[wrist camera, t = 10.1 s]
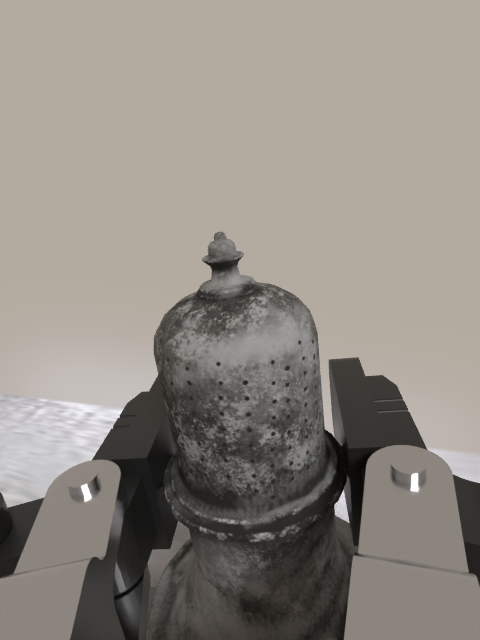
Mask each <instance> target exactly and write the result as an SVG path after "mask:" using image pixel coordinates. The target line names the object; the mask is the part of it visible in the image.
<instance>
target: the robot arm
mask: <svg viewBox="0 0 480 640" xmlns="http://www.w3.org/2000/svg"><path fill="white" fill-rule="evenodd" d="M329 377H330V391H331V406H332V418H333V427H334V436H335V439H336V440H337V441H338V442H339V443H340V445H341V446H342V449H343V453H344V458H345V463H346V469H347V483H346V485H345V487H344V493H345V499H346V504H347V510H348V516H349V521H350V527H351V533H352V538H353V544H354V546H359V548H358V553H356V552H355V553H354V556H353V561H352V568H351V578H350V587H349V597H348V606H347V616H346V625H345V634H344V640H480V483H476V482H472V481H468V480H465V479H462V478H460V477H458V476H455V475H453V474H452V471H451V469H450V467H449V466H448V464H447V463H446V462H445V461H444V460H443V459H442V458H440V457H439V456H438V455H436V454H434V453H432V452H430V451H428V450H427V448H426V446H425V444H424V442H423V440H422V438H421V435H420V434H419V431H418V429H417V427H416V425H415V423H414V421H413V419H412V417H411V415H410V413H409V412H408V408H407V406H406V404H405V402H404V401H403V398H402V396H401V394H400V392H399V390H398V387H397V386H396V385H395V384H394V383H393V382H391V381H389V380H388V379H387V378H386V377H384V376H383V375H379V376H365V375H364V371H363V369H362V366H361V363H360V360H359V358H346V359H345V358H344V359H331V360H329ZM175 452H176V450H175V446H174V441H173V437H172V432H171V428H170V423H169V419H168V414H167V410H166V405H165V401H164V396H163V392H162V387H161V383H160V378H159V375H158V377H157V378H156V380H155V382H154V384H153V385H152V387H151V389H150V391H149V392H141V393H140V394H138V395H137V396H136V397H135V398H134V399H132V400H131V401H130V402H128V403H127V405H126V406H125V408H124V410H123V411H122V413H121V414H120V418H118V419H117V421H116V422H115V424H114V426H113V429H111V430H110V432H109V434H108V435H107V437H106V438H105V440H104V442H103V443H102V445H101V446H100V448H99V450H98V451H97V453H96V454H95V456H94V458H93V459H92V461H88V462H84V463H81V464H78V465H76V466H74V467H72V468H70V469H68V470H67V471H65V472H64V473H62V474H61V475H60V476H59V477H57V478H56V479H55V480H54V481H53V483H52V484H51V485H50V487H49V489H48V490H47V493H46V495H45V498H42V499H38V500H34V501H31V502H27V503H24V504H20V505H16V506H13V507H9V508H7V505H6V503H5V501H4V498H3V496H2V494H1V493H0V640H146V633H147V619H148V605H149V590H150V572H149V569H148V565H147V563H148V560H149V557H150V554H151V551H152V549H170V547H171V544H172V540H173V537H174V533H175V530H176V526H177V523H178V520H177V519H176V518H175V517H174V515H173V513H172V512H171V510H170V508H169V507H168V505H167V504H166V501H165V496H164V489H163V483H162V482H163V479H164V476H165V472H166V469H167V466H168V463H169V462H170V460H171V458H172V456H173V455H174V453H175Z"/></svg>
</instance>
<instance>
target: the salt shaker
mask: <svg viewBox="0 0 480 640" xmlns="http://www.w3.org/2000/svg"><path fill="white" fill-rule="evenodd" d="M208 254H209V255H207V256H205V257H204V258H203V259H202V261H203V262H205V263H206V264H208V265H209V266H211V269H212V278H211V280H209V281H206V282H204V283H203V284H202V285H201V286H200V288H199V290H198V291H197V292H195V293H192V294H190V295H188V296H186V297H184V298H183V299H182V300H180V301H179V302H178V303H177V304H176V305H175V306H174V307H173V308H171V309H170V310H169V311H168V312H167V313H166V314H165V315H164V317H163V319H162V321H161V323H160V325H159V327H158V329H157V331H156V333H155V336H154V356H155V361H156V365H157V369H158V374H159V378H160V383H161V387H162V392H163V396H164V401H165V405H166V410H167V414H168V419H169V423H170V428H171V432H172V437H173V441H174V446H175V450H176V452H175V453H174V455H173V456H172V458H171V460H170V462H169V463H168V466H167V469H166V472H165V476H164V479H163V482H162V483H163V489H164V496H165V501H166V504H167V505H168V507H169V508H170V510H171V512H172V513H173V515H174V517H175V518H176V519H177V520H178V521H180V522H181V523H182V524H184V525H185V526H186V527H188V528H189V531H190V535H191V539H189V540H188V541H187V542H186V543H185V544H184V545H183V546H182V547H181V548H180V550H179V551H178V552H177V554H176V555H175V556H174V558H173V559H172V560H171V562H170V563H169V564H168V565H167V567H166V568H165V570H164V572H163V574H162V577H161V579H160V581H159V583H158V585H157V587H156V590H155V592H154V594H153V596H152V601H151V606H150V611H149V616H148V621H147V633H146V639H147V640H344V634H345V625H346V616H347V606H348V597H349V587H350V578H351V568H352V561H353V556H354V553H355V552H356V553H358V548H359V546H354V544H353V538H352V533H351V527H350V523H348V522H346V521H344V520H342V519H341V518H339V517H337V516H335V510H334V504H335V503H336V502H337V501H338V500H339V498H340V496H341V494H342V491H343V489H344V487H345V485H346V483H347V469H346V463H345V458H344V453H343V449H342V446H341V445H340V443H339V442H338V441H337V440H336V439H335V438H334V436H333V435H332V434H331V433H329V432H328V431H326V430H325V428H324V415H323V402H322V389H321V375H320V362H319V348H318V336H317V330H316V327H315V323H314V320H313V317H312V315H311V313H310V310H309V309H308V308H307V307H306V306H305V305H304V304H303V303H302V301H301V300H300V299H299V298H298V297H296V296H295V295H293V294H292V293H290V292H288V291H286V290H283V289H281V288H279V287H277V286H275V285H271V284H266V283H257V282H256V281H255V280H254V279H253V278H252V277H249V276H244V275H240V273H239V270H238V267H237V264H238V261H239V260H240V259H241V257H242V256H243V255H244V253H243V252H240V251H236V247H235V244H234V242H233V241H231V240H230V239H226V235H225V233H223V232H218V233H216V234H215V235H214V241H213V242H211V243H210V244H209V246H208Z"/></svg>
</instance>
